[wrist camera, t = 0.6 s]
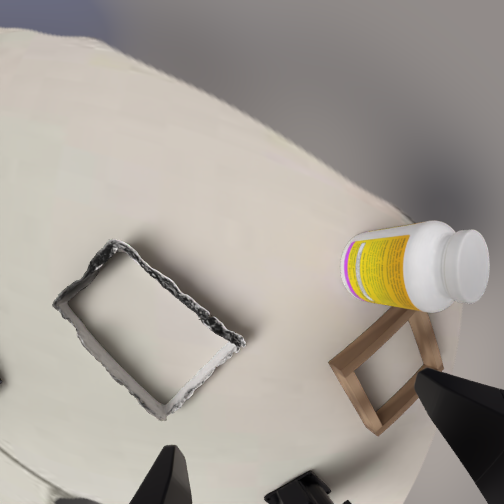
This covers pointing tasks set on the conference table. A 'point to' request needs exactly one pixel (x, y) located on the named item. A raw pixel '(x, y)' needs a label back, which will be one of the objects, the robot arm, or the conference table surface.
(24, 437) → the conference table surface
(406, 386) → the brown wooden square frame
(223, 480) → the conference table surface
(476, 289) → the supplement bottle
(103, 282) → the conference table surface
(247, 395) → the conference table surface
